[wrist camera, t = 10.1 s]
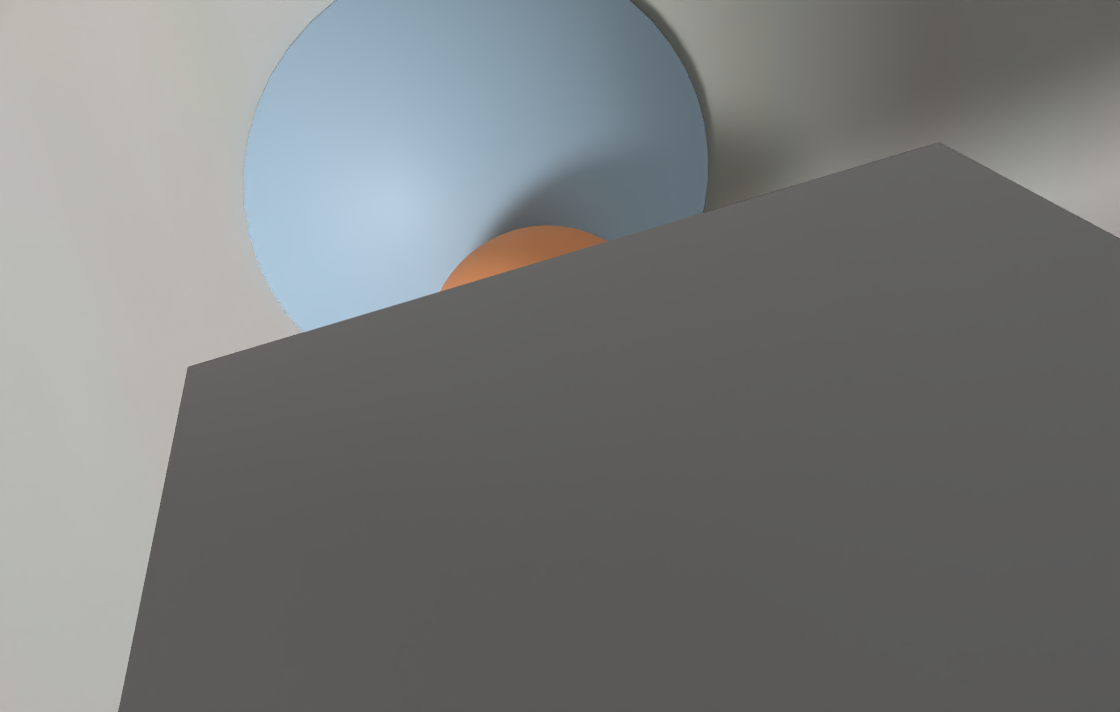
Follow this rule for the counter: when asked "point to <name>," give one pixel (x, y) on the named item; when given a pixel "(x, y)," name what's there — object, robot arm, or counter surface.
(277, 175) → the disc
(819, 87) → the counter surface
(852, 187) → the matte grey cuboid
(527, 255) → the ball
